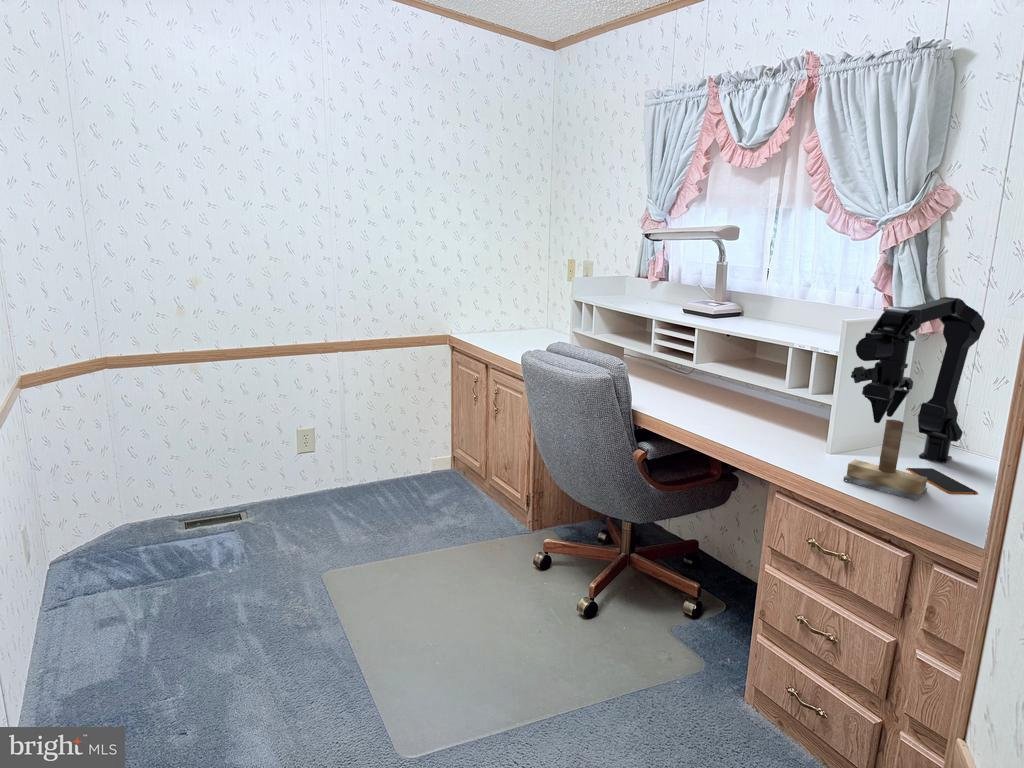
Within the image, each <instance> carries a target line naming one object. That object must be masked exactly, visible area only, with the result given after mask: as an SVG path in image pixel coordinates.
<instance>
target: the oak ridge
mask: <svg viewBox="0 0 1024 768" xmlns="http://www.w3.org/2000/svg"><path fill="white" fill-rule="evenodd" d="M878 468H879V464H874V463H870V462H867V461H863V460H859V459H854V460H852V461H850V462H848V465H847V470H846V475H844V476H843V480H847V481H850V482H853V483H852V484H854V483H856V484H855V485H858V484H860V485H859V486H861V485H863V486H862V487H865V486H867V487H866V488H869V487H870V488H869V489H872V488H874V489H873V490H876V489H878V490H877V491H879V490H882V491H881V492H883V491H885V492H884V493H887V492H889V493H888V494H890V493H893V494H892V495H894V494H896V495H895V496H898V495H899V497H901V496H903V497H902V498H905V497H906V498H905V499H909V500H912V501H913V500H914V501H918V500H919V499H920V498H921V497H922V496H924V495H925V494H926V493H927V492H928V487H927V483H928V482H927V477H923V476H919V475H915V474H913V473H911V472H908V471H907V472H906V471H902V470H898V469H896V472H895V473H887V472H883V471H880V470H879V469H878ZM843 480H842V481H843ZM847 481H846V482H847ZM850 482H849V483H850Z"/></svg>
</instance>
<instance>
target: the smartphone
mask: <svg viewBox="0 0 1024 768" xmlns="http://www.w3.org/2000/svg"><path fill="white" fill-rule="evenodd" d="M905 470H906V471H907V470H908V471H907V472H909V471H910V472H909V473H911V474H915V475H919V476H923V477H927V483H928V484H930V485H932V486H934V487H935V488H937V489H938V490H941V491H943V493H946V494H949V495H978V494H979V492H978V491H977V490H974V489H973V488H971V487H969V486H968V485H966V484H963V483H961V482H959V481H957V480H956V479H954V478H952V477H951V476H948V475H946V474H944V473H943V472H941V471H939V470H937V469H936V468H931V467H930V468H929V467H926V468H925V467H906V468H905Z"/></svg>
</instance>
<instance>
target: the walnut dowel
mask: <svg viewBox="0 0 1024 768" xmlns="http://www.w3.org/2000/svg"><path fill="white" fill-rule="evenodd" d="M904 423H905V422H904V421H902V420H897V419H886V421H885V426H884V432H883V439H882V445H881V450H880V457H879V463H878V465H879V468H878V469H879V470H880V471H883V472H887V473H895V472H896V470H897V465H898V460H899V453H900V448H901V447H900V446H901V442H902V435H903V430H904Z"/></svg>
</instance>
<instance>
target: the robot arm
mask: <svg viewBox="0 0 1024 768" xmlns="http://www.w3.org/2000/svg"><path fill="white" fill-rule="evenodd" d="M937 319H939V321H940V323H941V324H942V325H943V330H942V335H943V337H944V340H945V343H946V347H945V350H944V354H943V357H942V361H941V364H940V368H939V371H938V376H937V379H936V383H935V386H934V390H933V394H932V397H931V398H930V399H929V400H927V402H922V403H921V404H920V408H919V409H920V410H919V413H918V414H917V423H918V424H917V425H918V433H919V434H924V435H926V437H925V443H924V448H923V452H921V453H920V454H919V455H918V457H919V458H921V459H926V460H929V461H930V460H931V461H935V462H939V463H943V464H947V463H948V462H949V461H951V459H952V458H953V456H950V455H949V453H950V447H951V444H952V442H959V441H960V440H961V438H962V435H963V431H962V429H961V426H960V425H959V422H958V421H957V420H958V415H959V413H958V409H957V407H956V404H955V400H956V399H955V398H956V396H957V393H958V392H957V391H958V388H959V385H960V382H961V378H962V375H963V371H964V367H965V364H966V360H967V356H968V352H969V349H970V348H971V347H972V346H973V345H974V344H975V343H977V341H979V340H980V338H981V335H982V332H983V330H984V329H985V326H986V322H985V320H984V319H983V316H982V315H980V313H979V311H978V310H976V309H974V308H972V307H971V306H969V305H968V304H966V302H965V301H964V300H963V299H961V298H959V297H952V296H951V297H950V296H943V297H940V298H939V299H935V300H931V301H928V302H924V303H921V304H917V305H914V306H913V305H912V306H890V307H887V308H885V309H884V311H883V313H882V314H881V315H880V316H879V318H878V320H877V321H876V323H875V324H874V325H873V327H872V328H871V330H870V332H866V333H865V335H864V337H863V338H861V339H859V340H858V342H857V344H856V345H855V354H856V356H857V357H858V359H860V360H861V361H864V362H871V361H872V362H873V361H874V362H875V361H876V362H875V363H874V366H870V367H864V366H855V367H854V368H853V370H852V371H851V375H850V378H851V379H853V382H854V383H855V384H860V383H861V382H867V381H871V382H868V383H867V384H865V385H863V386H862V392H861V395H863V396H864V398H865V399H867V400H868V401H869V402H870V404H871V409H872V416H873V422H874V423H876V424H880V422H881V421H882V420H883V418H884V416H885V414H886V416H887V417H889V418H891V417H893V415H894V414H895V413H896V411H897V410H898V409H899V407H900V406H901V404H902V403H903V402H904V400H905V399H906V397H907V396H908V395H909V393H910V391H911V390H912V389H913V387H914V381H913V379H912V378H911V377H908V376H905V369H907V368H908V365H909V363H907V357H908V351H909V346H910V342H915V341H916V338H915V336H914V335H913V334H912V333H913V332H915V331H917V330H919V329H921V325H922V324H925V323H927V322H931V321H934V320H937Z"/></svg>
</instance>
